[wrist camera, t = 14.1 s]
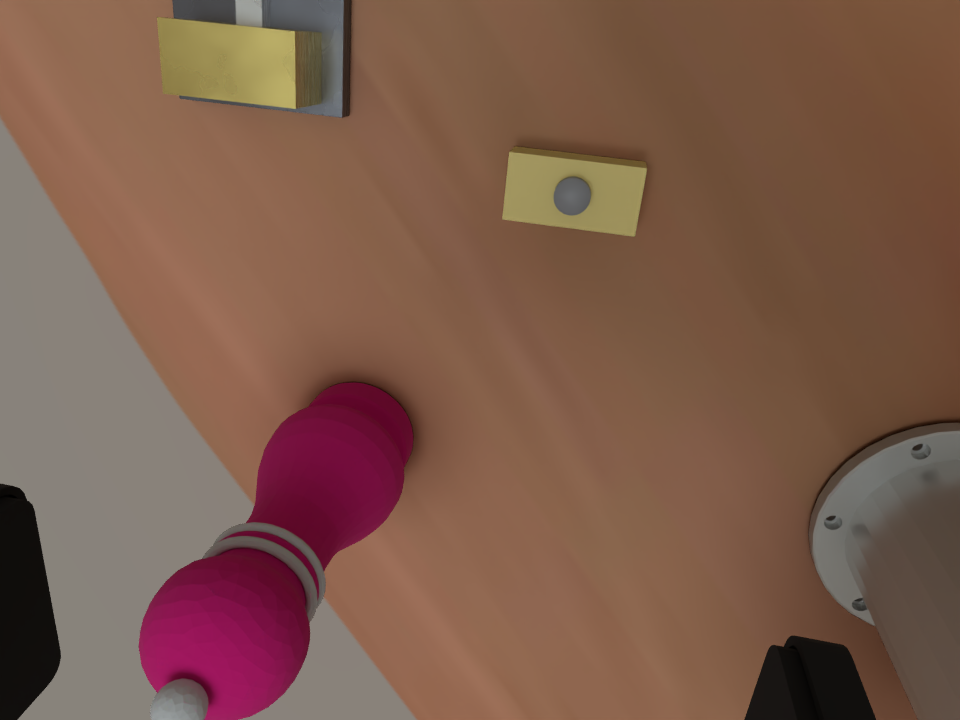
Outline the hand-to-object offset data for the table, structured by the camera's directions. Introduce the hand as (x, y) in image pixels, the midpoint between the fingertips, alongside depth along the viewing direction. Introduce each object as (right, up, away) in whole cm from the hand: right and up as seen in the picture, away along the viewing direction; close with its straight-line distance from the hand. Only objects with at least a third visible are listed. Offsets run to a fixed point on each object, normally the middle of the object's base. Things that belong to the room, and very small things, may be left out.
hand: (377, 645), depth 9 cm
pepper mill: (-5, 0, +32) cm, 33 cm away
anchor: (+6, +12, +25) cm, 28 cm away
